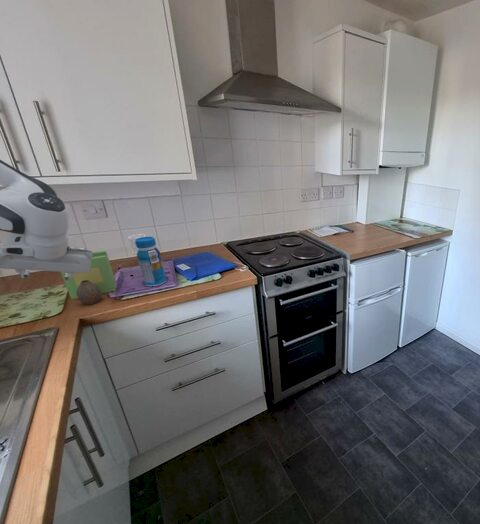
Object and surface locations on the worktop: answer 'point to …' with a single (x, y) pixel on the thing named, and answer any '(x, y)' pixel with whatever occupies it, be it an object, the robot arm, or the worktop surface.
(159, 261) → the beverage bottle
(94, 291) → the brown rounded lump
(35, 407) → the worktop surface
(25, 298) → the worktop surface
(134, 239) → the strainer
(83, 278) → the green square panel
